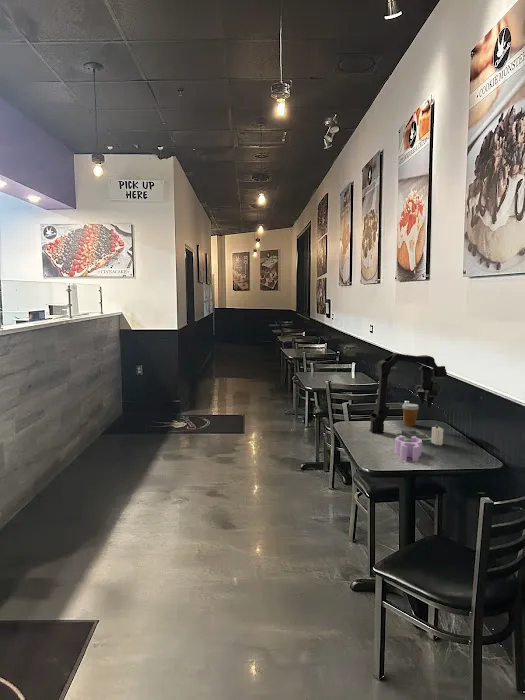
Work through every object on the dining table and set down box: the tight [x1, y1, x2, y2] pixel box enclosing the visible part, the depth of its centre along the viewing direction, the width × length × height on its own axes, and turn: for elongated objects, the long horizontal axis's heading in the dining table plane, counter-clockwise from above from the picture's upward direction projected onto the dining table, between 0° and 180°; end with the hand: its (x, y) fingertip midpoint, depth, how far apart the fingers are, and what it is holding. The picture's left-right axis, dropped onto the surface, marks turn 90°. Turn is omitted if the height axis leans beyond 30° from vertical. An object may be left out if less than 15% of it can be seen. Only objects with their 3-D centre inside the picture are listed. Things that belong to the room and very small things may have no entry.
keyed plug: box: [430, 424, 444, 446], centre depth 278 cm, size 4×6×10 cm, turn 12°
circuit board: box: [394, 432, 432, 442], centre depth 289 cm, size 16×12×1 cm
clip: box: [394, 435, 423, 462], centre depth 258 cm, size 20×12×7 cm, turn 168°
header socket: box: [401, 429, 427, 439], centre depth 289 cm, size 9×10×2 cm
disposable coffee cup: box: [401, 402, 420, 427], centre depth 316 cm, size 10×10×12 cm
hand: (425, 405), depth 302 cm, fingers open, 9 cm apart
